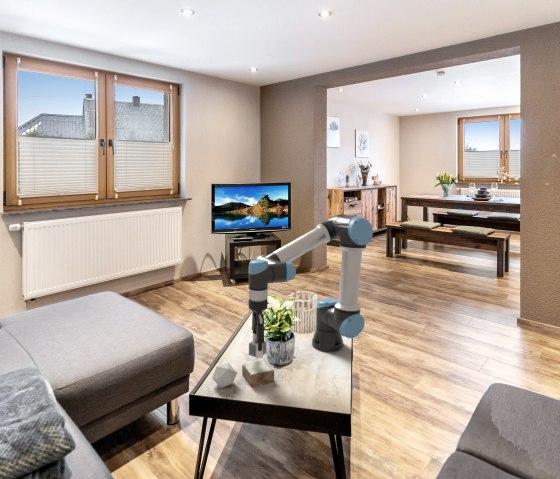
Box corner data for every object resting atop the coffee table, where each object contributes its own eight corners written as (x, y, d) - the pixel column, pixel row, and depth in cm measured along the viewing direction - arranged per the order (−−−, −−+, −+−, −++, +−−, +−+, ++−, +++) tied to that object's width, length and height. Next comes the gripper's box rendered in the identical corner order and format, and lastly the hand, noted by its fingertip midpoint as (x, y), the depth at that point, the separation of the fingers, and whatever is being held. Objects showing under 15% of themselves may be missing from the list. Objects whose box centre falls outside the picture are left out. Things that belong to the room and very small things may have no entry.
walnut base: (264, 371, 169) (264, 359, 169) (274, 382, 160) (274, 370, 160) (242, 375, 165) (242, 364, 164) (251, 387, 156) (251, 375, 155)
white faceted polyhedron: (230, 378, 164) (214, 360, 162) (244, 373, 159) (229, 355, 157) (220, 394, 157) (204, 376, 155) (234, 390, 152) (218, 372, 150)
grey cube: (248, 354, 160) (248, 343, 159) (255, 350, 164) (255, 338, 163) (259, 358, 158) (259, 346, 157) (265, 353, 162) (266, 341, 161)
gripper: (244, 291, 166) (244, 343, 170) (252, 307, 147) (252, 365, 150) (262, 291, 168) (262, 342, 171) (272, 306, 148) (272, 363, 152)
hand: (257, 353), depth 161 cm, fingers closed on grey cube, 7 cm apart
